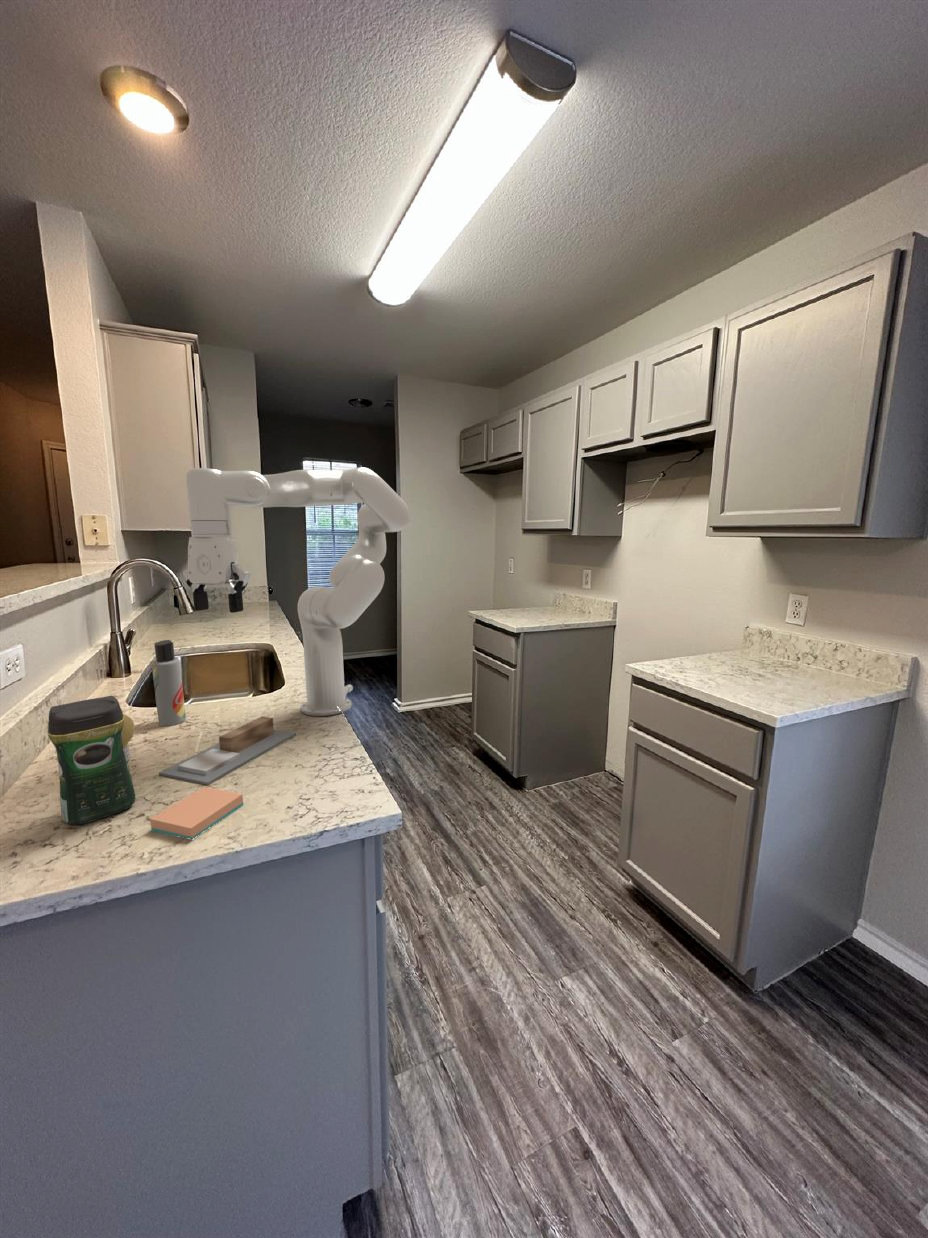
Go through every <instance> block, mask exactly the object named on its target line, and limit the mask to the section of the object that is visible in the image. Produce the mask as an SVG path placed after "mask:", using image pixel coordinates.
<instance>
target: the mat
mask: <svg viewBox="0 0 928 1238" xmlns="http://www.w3.org/2000/svg"><path fill="white" fill-rule="evenodd" d="M296 735H297V732H296V731H287V730H283V729H282V730H281V729H275V728H274V734H272V735H270V736H268V737H266V738H264V739H262V740H261V741H259V742H257V743H255V744H253V745H251V746H249V747H247V748H246V749H244V750H242V751H240V752H238V753H240V757H239V758H237V759H235V760H234V761H232V762H230V763H228V764H226V765H224V766H223V767H221V768H219V769H217V770H215V771H213V772H212V773H210V774H208V775H203V774H198V773H193V772H188V771H183V770H178V765H180V764H182V763H184V762H186V761H188V760H190V759H192V758H194V757H196V756H198V755H201V754H203V753H205V752H207V751H209V750H211V749H218V750H220V743H219V742H218V743H217V744H214V745H212V746H210V747H208V748H207V749H204V750H203V751H200V752H198V753H196V754H194V755H192V756H190V757H188V758H186V759H183V760H181V761H180V762H177V763H175V764H173V765H171V766H170V767H167V768H165V769H163V770H161V771H159V772H158V775H159V776H163V777H167V778H172V779H177V780H182V781H186V782H190V783H195V784H202V785H205V786H209V785H211V784H213V783H214V782H216V781H218V780H220V779H221V778H222V779H223V777H225V776H227V775H228V774H230V773H232V772H234V771H236V770H237V769H239V768H241V767H242V766H244V765H246V764H247V763H249V762H251V761H253V760H255V759H257V758H258V757H260V756H262V755H264V754H265V753H267V752H268V751H271V750H272V749H274V748H276V747H278V746H279V745H281V744H282V743H285V742H286V741H287V740H290V739H291V737H292V738H293V737H295V736H296Z"/></svg>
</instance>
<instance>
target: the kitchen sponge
mask: <svg viewBox="0 0 928 1238" xmlns="http://www.w3.org/2000/svg"><path fill="white" fill-rule="evenodd" d="M243 796H244V795H243V793H238V792H232V791H228V790H223V789H218V788H217V789H216V788H211V787H207V786H203V787H202V788H200V789H198V790H196V791H195V792H193V793H191V794H190V795H188V796H186V797H185V798H183V799H181V800H180V801H178V802H176V803H175V804H173V805H171V806H169V807H167V808H165V810H163V811H161V812H159V813H158V814H155V816H152V817H150V819H149V821H150V829H151V832H156V833H159V834H163V835H164V834H165V835H167V836H171V837H176V836H180V837H184V838H190V839H193V838H195V837H196V836H198V835H200V834H201V833H202V832H203V831H205V830H207V829H208V828H209V827H211V828H213V827H214V826H215V825H217V824H219V823H220V822H222V821H223V820H224V819H226V818H228V817H229V816H230V815H231V814H232V813H234V812H236V811H237V810H239V809H240V808H242V807H243V806H244V797H243ZM238 808H239V809H238ZM222 819H223V820H222ZM219 821H220V822H219ZM216 823H217V824H216ZM214 824H215V825H214ZM213 825H214V826H213ZM212 826H213V827H212ZM208 830H209V829H208ZM208 830H207V831H208ZM205 832H206V831H205ZM201 835H202V834H201ZM201 835H200V836H201ZM180 837H179V838H180ZM198 837H199V836H198ZM184 838H183V839H184ZM195 839H196V838H195Z"/></svg>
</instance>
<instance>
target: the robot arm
mask: <svg viewBox="0 0 928 1238" xmlns="http://www.w3.org/2000/svg"><path fill="white" fill-rule="evenodd" d="M185 475H186V476H185V477H186V480H185V481H186V490H187V499H188V500H187V501H188V509H189V510H188V511H189V520H190V521H189V523H190V527H189V529H190V531H191V536H189V537H188V544H187V545H188V546H187V568H186V569H185V570H183V571H182V575H183V577H184V579H185V581H186V585H187V586H188V588H189V590H190V592H191V593H192V598H193V608H194V611H195V612H196V611H197V612H198V611H199V612H200V611H205V610H208V609H209V607H210V606H209V598H208V597H209V596H208V591H207V590H206V589H207V587H208V585H209V586H216V585H217V586H219V585H225V587H226V588H227V590H228V591H229V593H228V594H227V595H228V596H227V597H228V609H229V612H230V613H232V614H233V613H239V612H243V611H244V601H243V594H244V593H245V589H246V587H247V585H249V584H248V583H249V582H248V581H249V579H250V577H251V573H250V571H248V570H246V569H245V568H243V567H242V566H240V560H239V555H238V550H237V546H236V541H235V538H234V536H233V532H232V521H231V509H230V508H232V509H235V510H237V509H241V510H242V509H255V508H256V509H257V508H275V507H276V508H279V507H281V508H282V507H283V508H285V507H286V508H287V507H288V508H301V507H302V508H304V507H322V506H324V507H325V506H343V505H345V506H347V505H353V504H354V505H356V504H362V506H361V507H360V508H359V510H358V512H357V525H358V538H357V540H356V541H355V543H354V544H353V545H352V547H351V548H350V549H349V550H348V551H347V552H346V553H344V555H343V556H341V558H340V559H339V560H338V561H337V562H336V563H335V564H334V565H333V567H332V568H331V570H330V572H329V575H328V581H329V584H330V586H331V587H328V586H327V587H326V586H314V587H310V588H308V589H306V590H305V591H303V592H302V594H301V595H300V596H299V598H298V602H297V615H298V619H299V623H300V628H301V632H302V644H303V645H302V646H303V660H304V676H305V691H306V701H305V702H303V703H301V706H300V711H301V713H303V714H304V715H308V716H312V717H326V716H334V715H337V714H342V713H344V712H346V711H348V710H349V709H350V708H351V707H352V700H351V699H349V698H348V697H347V695H348V693H351V691H353V690H354V686H353V685H352V684H350V683H349V684H347V685H345V673H344V657H343V656H344V654H343V653H344V651H343V637H342V632H341V629H346V628H347V627H350V626H351V625H353V624H354V623H355V622H357V620H358V619H359V618H360V617H361V615H362V614H363V613H365V610H367V608H368V607H369V606H370V605H371V604H372V603H373V602H374V601H375V600H376V598H377V597H378V595H380V593H381V592H382V589H383V587H384V584H385V572H384V571H385V570H384V569H383V567H382V565H381V563H382V562H383V561H384V558H385V557H386V555H387V554H386V553H387V539H386V537H387V536H386V533H396V532H397V533H398V532H400V531H401V532H402V531H403V530H404V529H405V528H407V526H408V525H409V524H410V523H409V522H410V519H411V514H410V513H411V512H410V509H409V507H408V505H407V503H406V502H405V500H404V499H403V498H401V496H400V495H399V494H398V493H397V492H396V491H395V490H394V489H393V488H392V487H391V486H390V485H389V484H388V483H387V482H386V481H385V480H384V479H383V478H382V477H381V476H379V475H378V473H376V472H374V470H372V469H371V468H368V467H364V466H361V467H360V466H359V467H355V468H350V469H297V470H290V471H286V472H279V473H274V474H261V473H259V472H256V471H253V470H245V469H244V470H220V469H215V468H207V467H205V468H204V467H197V468H191V469H188V470H187V471H186V474H185ZM337 706H338V707H339V708H340V710H341V711H339V709H338V708H337Z"/></svg>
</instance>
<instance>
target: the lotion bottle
mask: <svg viewBox="0 0 928 1238" xmlns="http://www.w3.org/2000/svg"><path fill="white" fill-rule="evenodd" d="M153 647H154V653H155V660H154V661H153V662H152V663H151V669H152V680H153V688H154V694H155V704H156V711H157V721H158V724H159V726H163V727H168V726H169V727H171V726H174V725H175V726H176V725H179V724H182V723H183V722H185V721H186V720H187V719H186V718H187V717H186V708H185V707H186V706H185V705H186V704H185V699H184V698H185V697H184V689H183V679H182V671H181V670H182V669H181V661H180V659H178V658H176V656H175V647H174V642H173V641H172V640H171V639H164V640H160V641H156V642H155V643H153Z"/></svg>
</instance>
